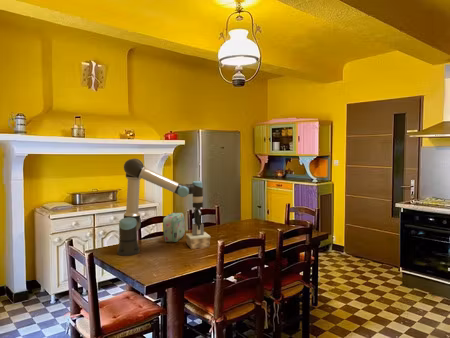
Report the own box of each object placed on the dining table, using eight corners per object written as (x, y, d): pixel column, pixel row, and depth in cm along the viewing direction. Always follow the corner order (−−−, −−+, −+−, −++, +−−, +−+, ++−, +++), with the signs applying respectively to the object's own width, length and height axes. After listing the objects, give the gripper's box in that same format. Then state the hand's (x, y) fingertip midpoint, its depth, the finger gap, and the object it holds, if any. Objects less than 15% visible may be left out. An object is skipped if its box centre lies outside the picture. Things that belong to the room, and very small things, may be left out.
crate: (191, 248, 251) (191, 239, 251) (186, 243, 264) (186, 234, 264) (209, 247, 256) (209, 237, 255) (204, 242, 269) (204, 233, 269)
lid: (190, 240, 250) (190, 227, 250) (185, 236, 264) (185, 222, 264) (210, 239, 255) (210, 225, 255) (204, 234, 269) (204, 221, 269)
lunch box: (175, 244, 263) (174, 216, 262) (162, 243, 265) (161, 215, 264) (186, 235, 289) (185, 210, 288) (174, 235, 292) (173, 209, 290)
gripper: (205, 203, 252) (205, 235, 253) (199, 200, 267) (200, 230, 268) (195, 203, 249) (195, 236, 251) (190, 200, 265) (190, 231, 266)
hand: (197, 233), depth 260 cm, fingers closed on lid, 3 cm apart
